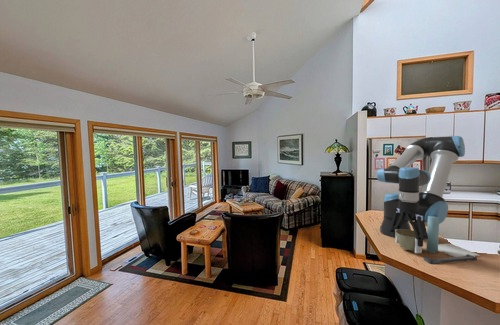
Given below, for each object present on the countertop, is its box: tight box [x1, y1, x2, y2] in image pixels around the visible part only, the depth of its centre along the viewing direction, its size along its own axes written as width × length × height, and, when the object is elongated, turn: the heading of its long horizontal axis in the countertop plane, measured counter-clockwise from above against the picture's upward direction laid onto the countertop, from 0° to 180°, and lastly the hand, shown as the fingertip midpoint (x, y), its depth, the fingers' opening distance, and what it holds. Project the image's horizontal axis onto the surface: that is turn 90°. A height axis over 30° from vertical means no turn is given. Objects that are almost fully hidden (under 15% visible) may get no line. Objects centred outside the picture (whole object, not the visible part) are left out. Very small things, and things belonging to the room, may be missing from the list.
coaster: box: [438, 243, 480, 258], centre depth 97 cm, size 12×12×1 cm
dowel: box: [426, 216, 440, 254], centre depth 97 cm, size 4×4×16 cm
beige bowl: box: [395, 229, 420, 251], centre depth 98 cm, size 10×10×7 cm
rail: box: [423, 254, 478, 265], centre depth 89 cm, size 3×22×1 cm, turn 97°
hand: (407, 247), depth 98 cm, fingers closed on beige bowl, 10 cm apart
